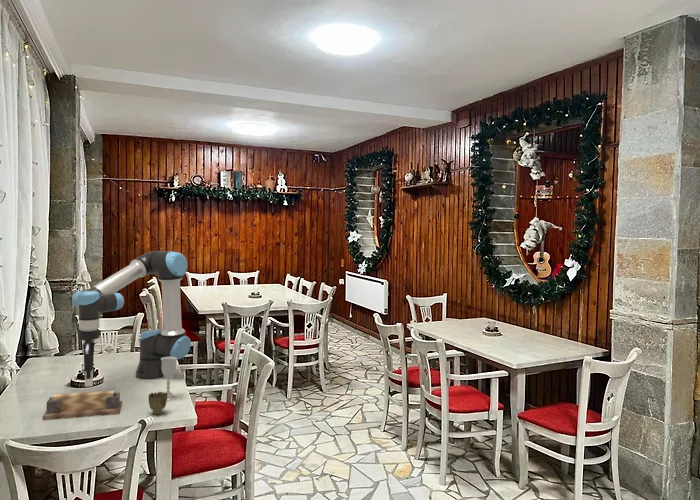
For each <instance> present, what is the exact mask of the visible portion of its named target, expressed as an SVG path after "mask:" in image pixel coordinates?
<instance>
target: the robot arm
mask: <svg viewBox="0 0 700 500" xmlns="http://www.w3.org/2000/svg"><path fill="white" fill-rule="evenodd" d="M187 271H188V260H187V258H186V257H185V255H184V254H182V253H181V252H177V251H171V250H170V251H167V250H166V251H165V250H163V251H162V250H153V251H148V252H146V253H144V254H142V255H140V256H137V257H136V258H134V259H132V260H131V261H130V263H129V265H127V266H125V267H123V268H122V269H120V270H119V271H117V272H115V273H113V274H111V275H110V276H108V277H107V278H105V279H103V280H102V281H100V282H98V283H97V284H95V285H93V286H92V287H90V288H88V289H87V290H79V291H76V292H74V293H73V295H72V298H71V300H72V301H71V302H72V304H73V306H74V307H75V308H78V321H77V322H76V324H77V325H78V340H79V341H84V343H82V349H83V366H84V367H83V368H84V369H83V370H82V372H84V387H93V386H94V370H95V368H96V367H95V365H94V355H95V345H96V344H95V343H96V342H95V341H94V340H98V339H99V338H100V329H99V328H100V314H102V313H109V312H114V311H118V310H120V309H122V308H123V307H124V305H125V299H124V298H125V297H124V296H123V294H121V293H120V292H118V291H120V290H122V289H123V288H125V287H126V286H127V285H128V286H129V285H130V284H131V283H132V282H134V281H136V280H137V279H139V278H144V277H146V276H148V275H157V280H158V281H159V282H160V283H161V293H162V294H161V297H162V298H161V299H162V316H163V317H162V319H163V321H162V322H163V329H152V330H146V331H142V332H141V333H140V336H139V337H140V339H139V362H138V364H137V367H136V369H135V378H137V379H142V380H152V379H153V380H154V379H160V378H163V377H164V375H163V373H162V370H161V368H162V361H161V358H163V357H176V358H177V360H181V359H183V358H184V357H186V356H187V355H188V353H189V351H190V349H191V345H192V343H191V339H190V337H189V336H187V335H186V330H185V329H184V328H183V325H182V324H183V323H182V304H181V299H182V298H181V280H183V278H184V277H183V276H184V275H185V274H186V273H187ZM164 378H165V377H164Z"/></svg>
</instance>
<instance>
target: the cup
mask: <svg viewBox="0 0 700 500" xmlns="http://www.w3.org/2000/svg"><path fill="white" fill-rule="evenodd" d="M167 395H168V394H167V391H158V392H156V391H155V392H154V393H153V392H151V393H149V394H148V405H149V408H150V410H151V411H152V413H154V414H153V415H160V414H159V413H161V414H163V410H164V409H165V408H166V406H167V402H168V400H167Z"/></svg>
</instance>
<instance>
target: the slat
mask: <svg viewBox="0 0 700 500" xmlns="http://www.w3.org/2000/svg"><path fill="white" fill-rule="evenodd" d="M114 393H115V390H104V391H103V390H101V391H89V392H88V391H87V392H86V391H85V392H72V393H70V392H69V393H61V394H60V393H57V394H53V395H52V396H51V397H52V401H60V400H61V407H60V411H71V410H84V409H97V408H106V397H114Z"/></svg>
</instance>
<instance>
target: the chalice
mask: <svg viewBox="0 0 700 500" xmlns="http://www.w3.org/2000/svg"><path fill="white" fill-rule="evenodd" d="M177 360H178V359H177V358H176V357H163V358H161V361H162V368H161V370H162V373H163V375H164V379H165V380H166V387H165V388H166V392H167V394H168V395H167V399H172V398H173V397H174V395H173V393H172V392H170V389H171V387H170V385H171V383H170V382H171V381H170V380H172V379H173V377H174V375H175V374H176V369H177ZM172 400H173V399H172Z"/></svg>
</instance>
